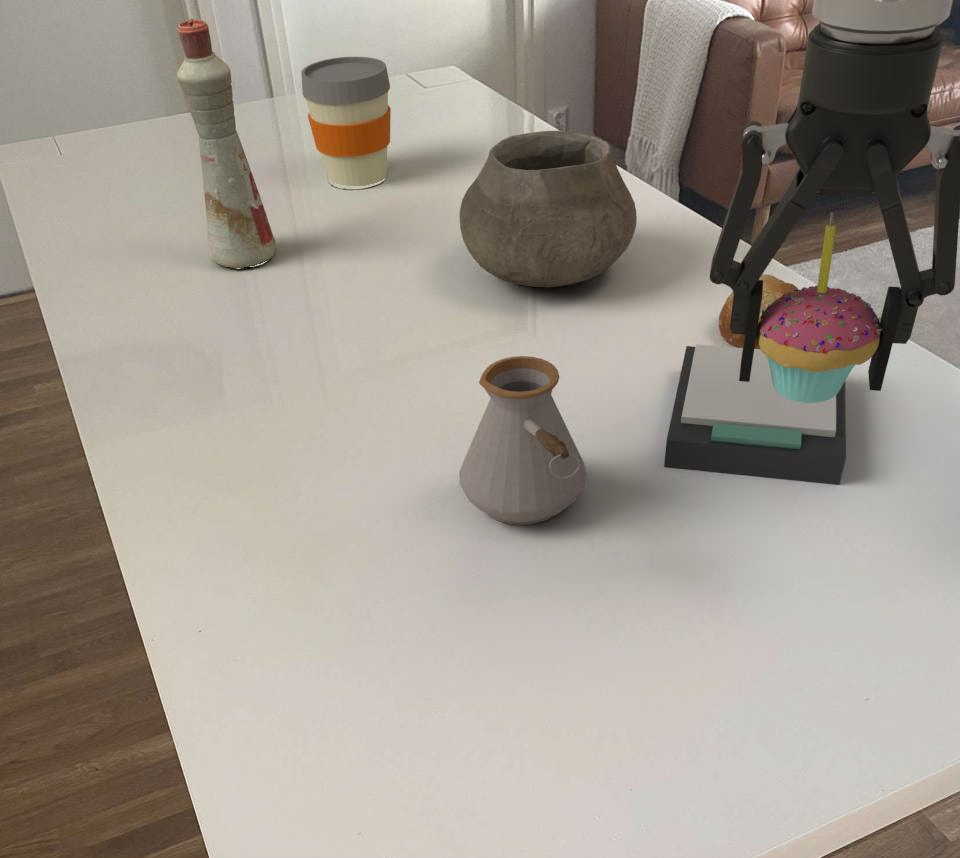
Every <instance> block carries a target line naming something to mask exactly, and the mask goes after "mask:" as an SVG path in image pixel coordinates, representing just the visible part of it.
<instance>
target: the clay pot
mask: <svg viewBox="0 0 960 858" xmlns="http://www.w3.org/2000/svg"><path fill="white" fill-rule="evenodd" d="M637 221H638V217H637V208H636V203H635V201H634V199H633V197H632V194H631V192H630V190H629V188H628V187H627V185H626V183H625V181H624V179H623V177H622V174H621V172H620V171H619V168H618V167H617V163H616V159H615V156H614V153H613V149H612V145H611V144H610V143H609V142H608V141H607V140H603V138H600V137H597V136H595V135H592V134H587V133H583V132H578V131H569V130H541V131H532V132H527V133H520V134H515V135H511V136H508V137H507V138H504V139H502V140H500V141H499V142H497V143H496V144H494V145H493V146H491V149H490V150H489V152H488V156H487V159H486V161H485V162H484V164H483V166H482V168H481V170H480V172H479V173H478V175H477V177H476V178H475V180H474V181H473V182H472V183H471V184H470V186H468V188H467V189H466V191H465V193H464V195H463V197H462V200H461V203H460V208H459V227H460V233H461V238H462V241H463V243H464V245H465V247H466V249H467V252H468V253H469V254H470V255H471V257H472V258H473V260H474V261H475V262H476V263H477V264H478V265H479V266H480V267H481V268H482V269H483V270H485V271H486V272H488V273H489V274H491V276H494V277H496V278H498V279H500V280H502V281H506V282H509V283H513V284H517V285H520V286H525V287H533V288H555V287H556V288H557V287H564V286H567V285H573V284H579V283H581V282H584V281H588V280H590V279H592V278H594V277H597V276H598V275H600V274H602V273H604V272H605V271H606V270H607V269H609V268H610V267H611V266H612V265H614V263H616V262H617V261H618V259H619V258H620V257H621V256H622V255H623V254H624V252H625V251H627V249H628V247H629V246H630V243H631V242H632V239H633V237H634V234H635V232H636V228H637V223H638V222H637Z"/></svg>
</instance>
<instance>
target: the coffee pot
mask: <svg viewBox="0 0 960 858" xmlns="http://www.w3.org/2000/svg"><path fill="white" fill-rule="evenodd" d="M559 373H560V372H559V370H558V369H557V367H556V366H555V365H554V364H553V363H552V362H550V361H548V360H546V359H543V358H541V357H536V356H525V355H520V356H519V355H518V356H509V357H504V358H502V359H499V360H496V361H494V362H493V363H491V364H489V365H488V366H487V367H486V368H485V369H484V371H483V372H482V374H481V376H480V379H479V381H478V384H479V385H480V386H481V387H482V388H483V389H484V390H485V392H486V393H487V395H488V396H489V401H488V403H487V406H486V408H485V410H484V413H483V415H482V417H481V419H480V422H479V424H478V426H477V429H476V431H475V433H474V436H473V438H472V440H471V443H470V444H469V448H468V450H467V452H466V455H465V457H464V459H463V461H462V464H461V467H460V470H459V485H460V487H461V489H462V491H463V494H464V495H465V496H466V498H467V499H468V501H469V502H470V503H471V504H472V505H473V506H474V507H475V508H476V509H478V510H479V511H481V512H483V513H485V514H486V515H488V516H490V517H491V518H493V519H494V520H497V521H499V522H502V523H505V524H509V525H518V526H525V525H534V524H535V525H536V524H538V523H543V522H545V521H547V520H549V519H552V518H554V517H555V516H556V515H558V514H560V513H561V512H563V511H564V510H565V509H567V508H568V507H569V506H571V505H572V504H573V503H574V502H575V501H576V500H577V498H578V497H579V495H580V493H581V492H582V491H583V488H584V487H585V482H586V478H587V471H586V467H585V462H584V460H583V457H582V456H581V453H580V451H579V449H578V447H577V445H576V443H575V441H574V439H573V436H572V435H571V433H570V430H569V428H568V427H567V425H566V422H565V420H564V418H563V416H562V414H561V413H560V410H559V408H558V406H557V403H556V402H555V400H554V398H553V396H552V393H553V389H555V387H556V386H557V385H558V383H559V380H560V374H559Z"/></svg>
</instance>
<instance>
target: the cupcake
mask: <svg viewBox="0 0 960 858" xmlns="http://www.w3.org/2000/svg"><path fill="white" fill-rule="evenodd" d="M834 213H835V212H834V211H831V212H830V218H829V224H827V225H825V229H824V237H823V245H822V250H821V251H822V252H821V259H820V267H819V272H818V280H817V285H814V286H808V287H805V286H803V287H802V288H801V289H798V290H797V289H795V290H794V291H793V292H789V293H785V294H783V295H782V296H781V297H780V298H778V299H776V300H775V301H774V302H773V303H772V304H771V305H770V306H769V304H768V307H767V308H766V310H762V315H761V317H760V318H761V320H760V322H759V324H758V328H757V335H756V338H757V341H758V344H759V345H760V349H761V351H762V353H764V354H765V355H766V356H767V358H768V360H769V365H770V369H771V375H772V382H773V386H774V389H775V390H776V391H777V392H778V393H779V394H780V395H782V396H783V397H785V398H787V399H790V400H793V401H797V402H804V403H816V402H823V401H826V400H829V399H831V398H833V397H834V396H836V395H837V393H838V392H839V390H840V389H841V387H842V385H843V383H844V382H845V383H846V380H847V378H848V377H849V376H850V374H851V372H852V370H853V369H854V368H855V366H859V365H863V364H864V363H866V362H868V361H869V360H871V358H872V356H873V355H874V353H875V351H876V349H877V347H878V345H879V340H880V333H881V331H882V330H883V329H882V328H881V324H880V323H881V322H882V319H881V317H878V316H877V314H876V312H875V311H874V309H873V308H872V304H871V303H869V302H868V301H866V300H864V299H862V296H859V295H856V293H853V292H852V293H850V292H849V291H847V290H845V289H841V288H836V287H832V288H831V287H829V285H828V283H829V277H830V271H831V263H832V256H833V251H834V245H835V244H834V243H835V236H836V230H837V225H834V218H835V217H834V215H835V214H834ZM880 320H881V321H880Z"/></svg>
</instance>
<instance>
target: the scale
mask: <svg viewBox="0 0 960 858" xmlns="http://www.w3.org/2000/svg"><path fill="white" fill-rule="evenodd" d="M742 350H743V348H738V347H736V346H721V345H711V344H709V345H708V344H695V346H692V345H687V346H685V352H684V355H683V359H682V360H683V361H682V364H681V365H682V366H681V370H680V375H679V379H678V383H677V389H676V394H675V399H674V403H673V408H672V411H671V412H672V413H671V416H670V417H671V418H670V422H669V427H668V432H667V437H666V443H665V452H664V460H663V462H664V463H663V467H665V468H674V469H682V470H683V469H685V470H693V471H694V470H695V471H702V472H712V473H713V472H714V473H721V474H733V475H743V476H751V477H762V478H771V479H781V480H791V481H800V482H810V483H820V484H822V483H823V484H829V485H840V483H841V479H842V476H843V471H844V468H845V464H846V459H847V426H846V425H847V422H846V421H847V420H846V419H847V418H846V416H847V415H846V413H847V412H846V410H847V409H846V406H847V405H846V381H845V382H844V383H843V385H842V387H841V389H840V390H839V392H838V393H837V395H836V396H834V397H833V398H831V399H829V400H826V401H823V402H816V403H804V402H797V401H793V400H790V399H787V398H785V397H783V396H782V395H780V394H779V393H778V392H777V391H776V390H775V389H774V386H773V382H772V375H771V369H770V365H769V360H768V358H767V356H766V355H765V354H764V353H762V351H761V349H754V355H753V361H752V368H751V375H750V381H749V382H743V381H739V376H740V365H741V358H742Z"/></svg>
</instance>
